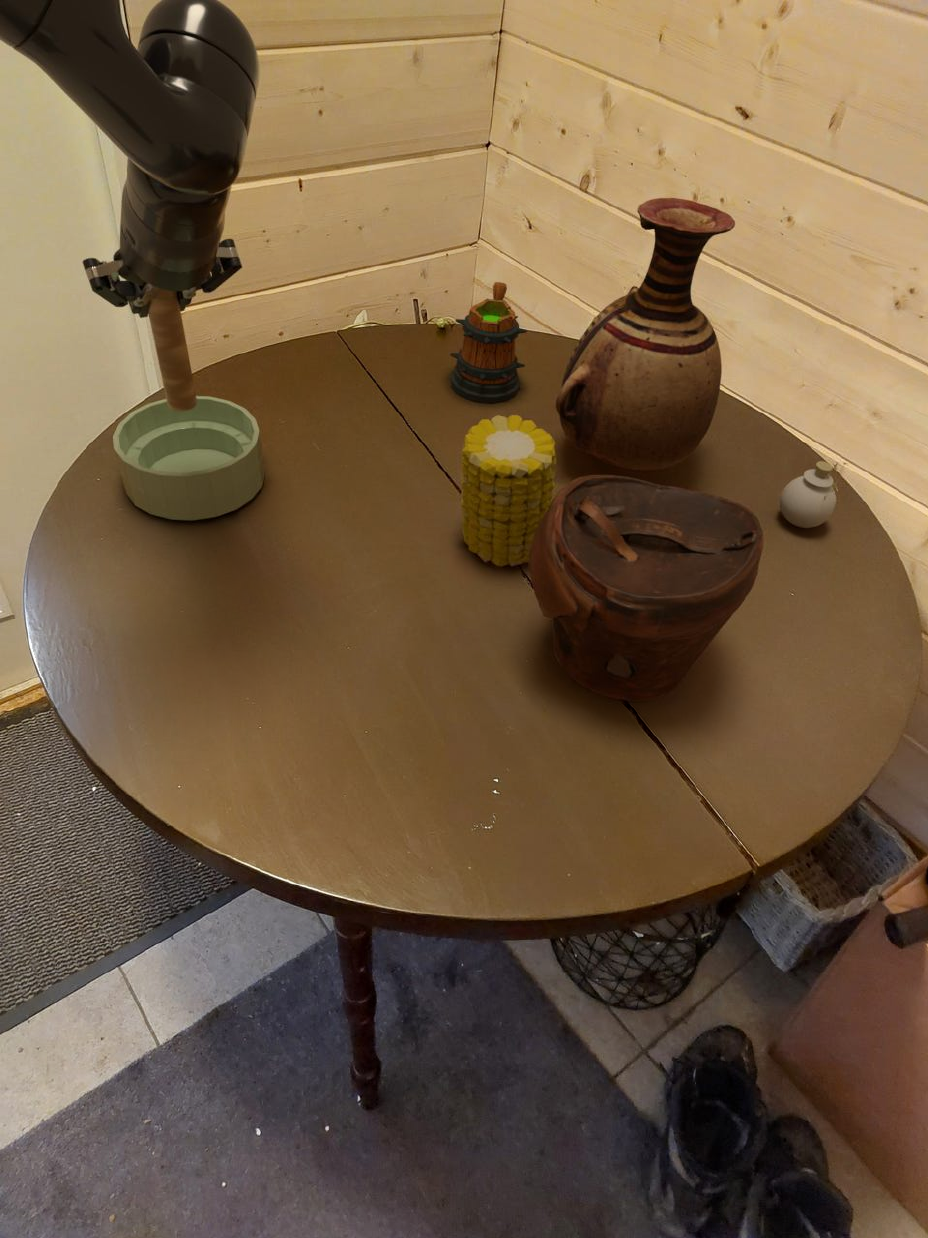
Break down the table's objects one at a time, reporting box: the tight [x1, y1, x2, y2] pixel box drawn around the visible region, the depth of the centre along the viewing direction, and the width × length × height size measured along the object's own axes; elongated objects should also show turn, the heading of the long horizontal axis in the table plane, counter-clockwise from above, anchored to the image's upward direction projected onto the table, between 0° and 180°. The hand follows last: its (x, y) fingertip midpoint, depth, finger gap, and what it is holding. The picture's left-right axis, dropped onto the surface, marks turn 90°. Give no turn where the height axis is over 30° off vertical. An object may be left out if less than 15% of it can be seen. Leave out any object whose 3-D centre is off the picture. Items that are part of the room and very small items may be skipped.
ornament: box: [779, 460, 839, 529], centre depth 94 cm, size 6×7×10 cm
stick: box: [148, 289, 197, 411], centre depth 82 cm, size 3×3×14 cm
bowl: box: [112, 395, 266, 521], centre depth 92 cm, size 15×15×6 cm
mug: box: [449, 281, 528, 404], centre depth 111 cm, size 13×10×12 cm
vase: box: [555, 197, 736, 471], centre depth 93 cm, size 21×18×30 cm
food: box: [460, 414, 557, 568], centre depth 86 cm, size 15×12×10 cm
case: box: [528, 474, 764, 702], centre depth 75 cm, size 18×20×18 cm
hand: (158, 304), depth 81 cm, fingers closed on stick, 3 cm apart
